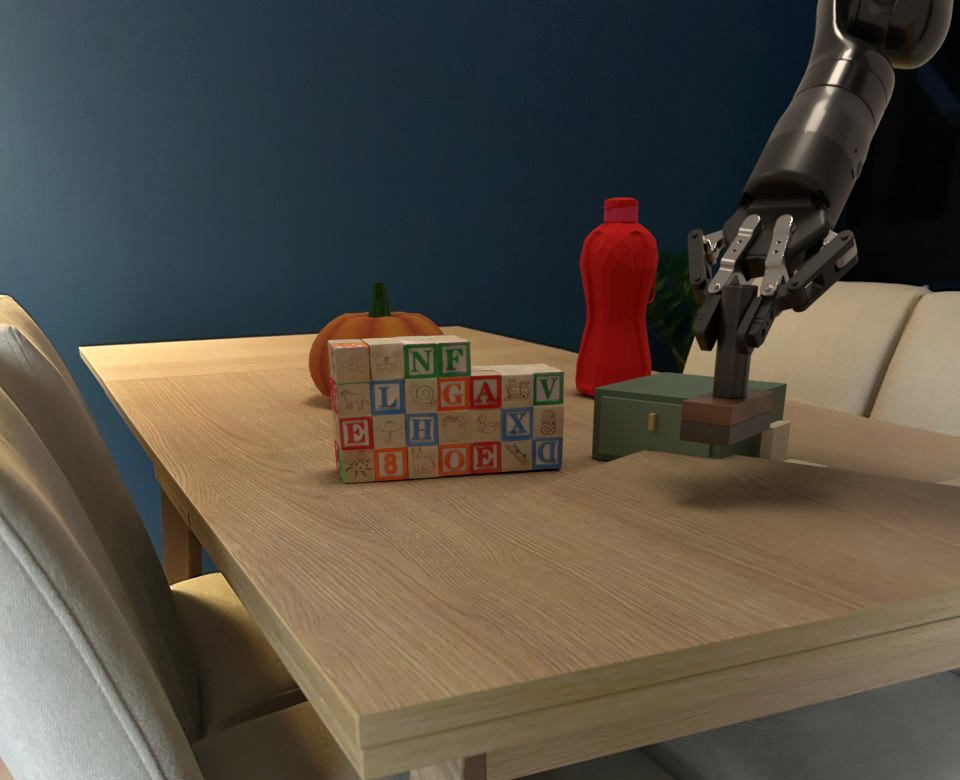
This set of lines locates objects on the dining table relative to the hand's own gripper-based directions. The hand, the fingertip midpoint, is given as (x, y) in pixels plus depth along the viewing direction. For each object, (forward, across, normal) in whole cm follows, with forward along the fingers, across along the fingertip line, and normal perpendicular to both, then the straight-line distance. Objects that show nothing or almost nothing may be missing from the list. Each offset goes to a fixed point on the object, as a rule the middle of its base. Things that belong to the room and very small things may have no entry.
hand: (722, 344), depth 72 cm
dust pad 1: (-8, -5, +24) cm, 26 cm away
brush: (+3, 0, +6) cm, 7 cm away
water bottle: (-25, -39, +46) cm, 65 cm away
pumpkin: (-9, -62, +29) cm, 69 cm away
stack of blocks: (+9, -28, +11) cm, 31 cm away
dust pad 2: (-4, 0, +22) cm, 22 cm away
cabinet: (-5, -13, +25) cm, 28 cm away
